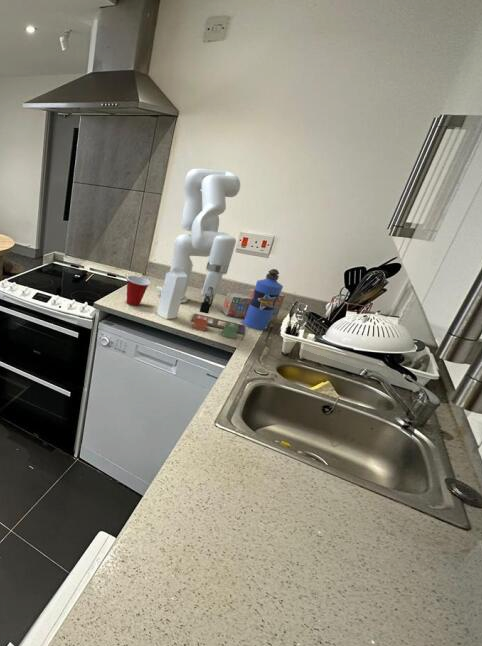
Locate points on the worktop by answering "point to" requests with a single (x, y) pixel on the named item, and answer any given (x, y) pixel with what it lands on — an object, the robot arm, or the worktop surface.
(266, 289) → the water bottle
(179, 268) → the milk
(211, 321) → the word board
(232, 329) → the letter I
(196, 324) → the letter H
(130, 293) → the plastic cup
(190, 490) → the worktop surface
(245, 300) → the stack of blocks
